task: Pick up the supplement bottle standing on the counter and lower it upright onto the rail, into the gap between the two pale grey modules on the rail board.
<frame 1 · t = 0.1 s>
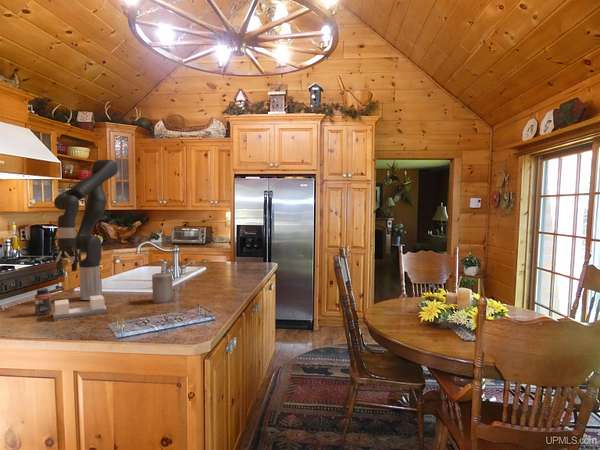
hand: (66, 270, 171), 17 cm above the countertop, tool pointing down, fingers open, 8 cm apart
pillar candle: (162, 301, 183), on the countertop
rail board: (80, 313, 160), on the countertop
supplement bottle: (43, 314, 161), on the countertop
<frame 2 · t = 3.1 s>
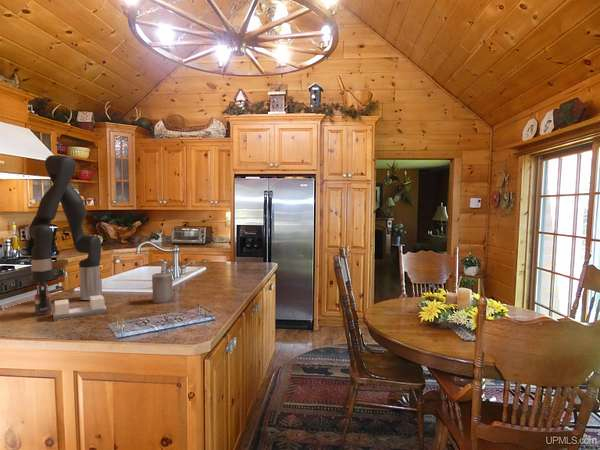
hand: (43, 305, 160), 4 cm above the countertop, tool pointing down, fingers closed on supplement bottle, 6 cm apart
supplement bottle: (43, 314, 160), on the countertop, touching gripper
everything else where it was.
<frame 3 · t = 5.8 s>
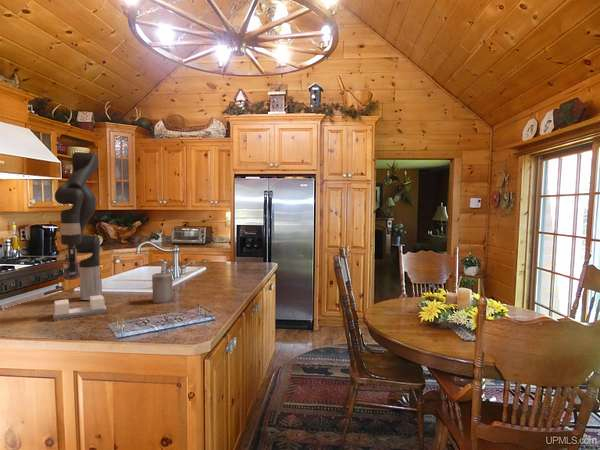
hand: (71, 270, 159), 20 cm above the countertop, tool pointing down, fingers closed on supplement bottle, 6 cm apart
supplement bottle: (72, 279, 159), point 16 cm above the countertop, touching gripper
everything else where it was.
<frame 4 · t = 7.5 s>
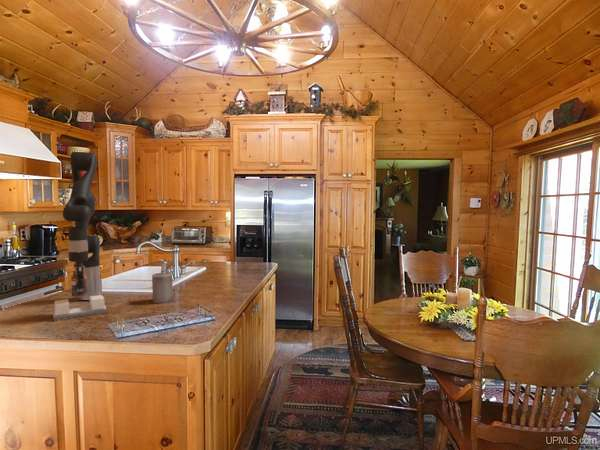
hand: (79, 287, 160), 12 cm above the countertop, tool pointing down, fingers closed on supplement bottle, 6 cm apart
supplement bottle: (79, 295, 160), point 8 cm above the countertop, touching gripper
everything else where it was.
when the fingers open (7 cm above the countertop, at t = 8.9 s): supplement bottle drops 2 cm, resting on rail board.
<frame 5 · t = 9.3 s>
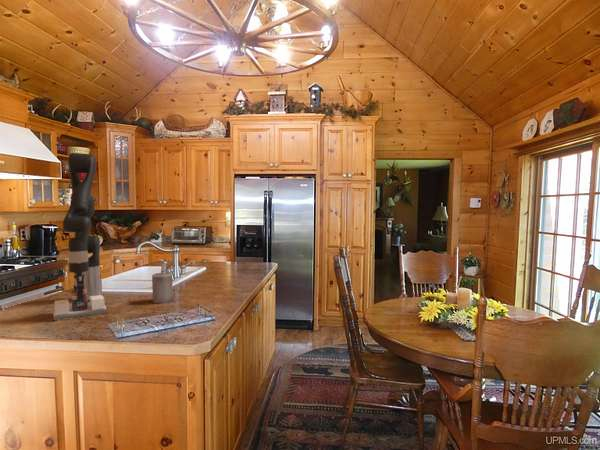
hand: (79, 296, 160), 8 cm above the countertop, tool pointing down, fingers open, 8 cm apart
supplement bottle: (79, 309, 161), point 2 cm above the countertop, touching rail board
everything else where it was.
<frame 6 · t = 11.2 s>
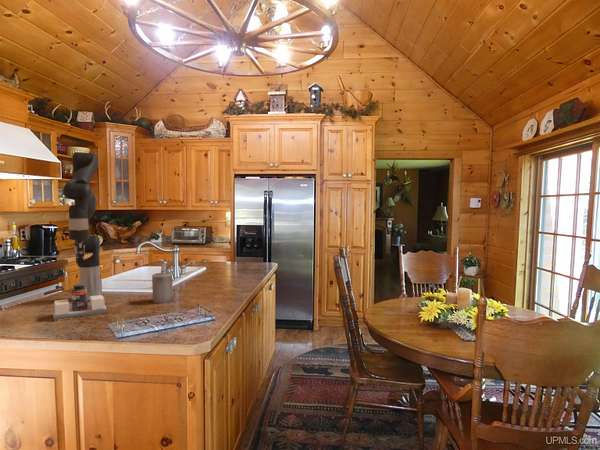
hand: (79, 264, 159), 22 cm above the countertop, tool pointing down, fingers open, 8 cm apart
nothing on the countertop moved.
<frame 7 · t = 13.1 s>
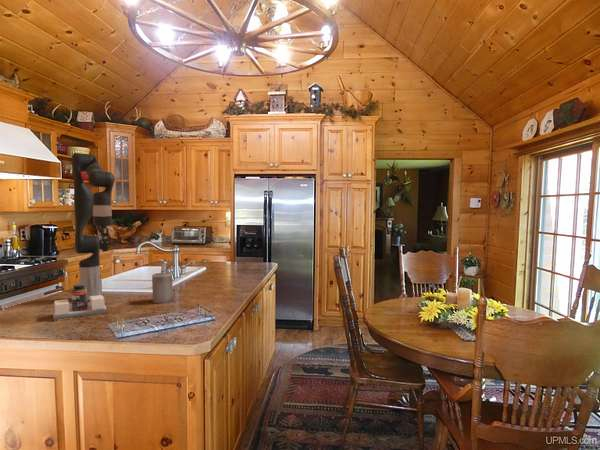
hand: (103, 250, 165), 28 cm above the countertop, tool pointing down, fingers open, 8 cm apart
nothing on the countertop moved.
at the end: supplement bottle 0.3 cm off-centre on the rail board, point 1.8 cm above the rail board's base; supplement bottle tilted 0°; the gripper is holding nothing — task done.
